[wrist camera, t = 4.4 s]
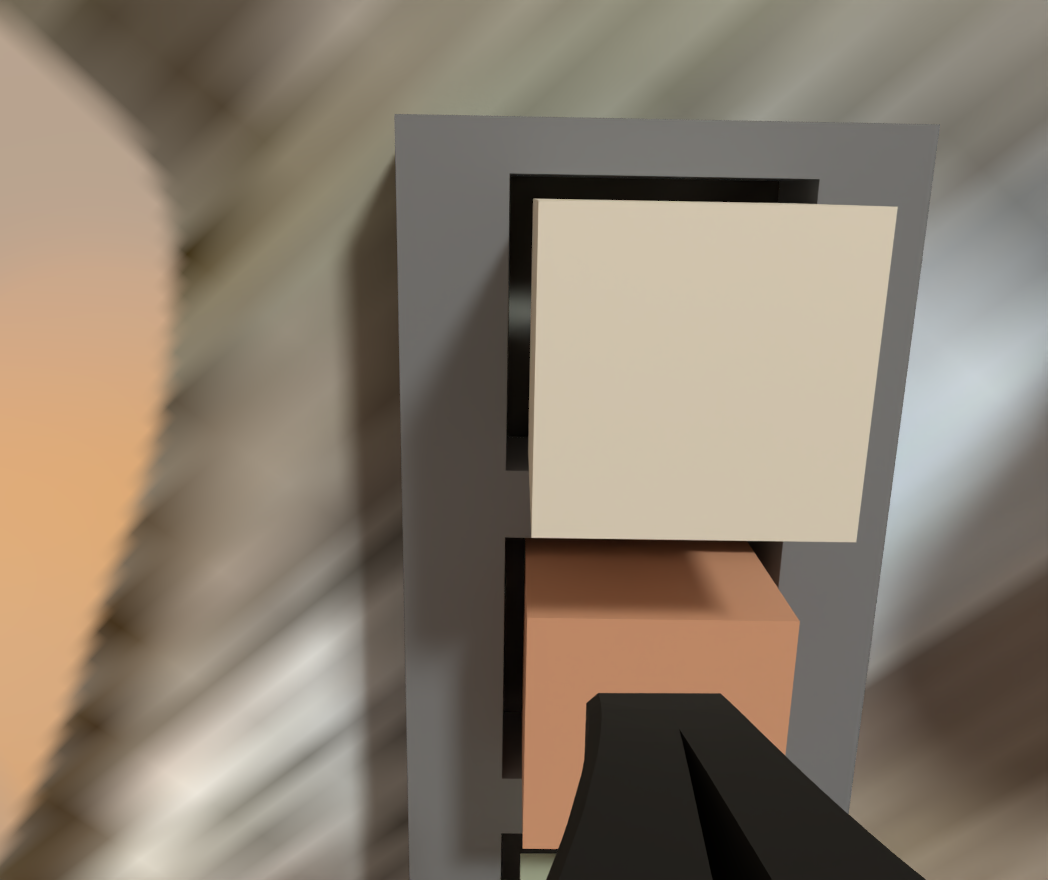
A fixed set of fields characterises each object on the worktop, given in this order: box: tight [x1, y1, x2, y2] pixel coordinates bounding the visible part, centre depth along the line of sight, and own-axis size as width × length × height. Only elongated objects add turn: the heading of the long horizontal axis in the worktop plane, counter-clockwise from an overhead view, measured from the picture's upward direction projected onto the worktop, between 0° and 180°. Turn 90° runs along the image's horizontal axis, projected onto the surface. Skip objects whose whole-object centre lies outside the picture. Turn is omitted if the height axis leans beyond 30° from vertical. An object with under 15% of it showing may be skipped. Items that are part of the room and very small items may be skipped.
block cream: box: [528, 199, 898, 542], centre depth 14 cm, size 4×4×4 cm
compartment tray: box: [395, 114, 940, 880], centre depth 19 cm, size 20×9×2 cm, turn 179°
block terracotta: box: [522, 538, 800, 849], centre depth 17 cm, size 4×4×4 cm
